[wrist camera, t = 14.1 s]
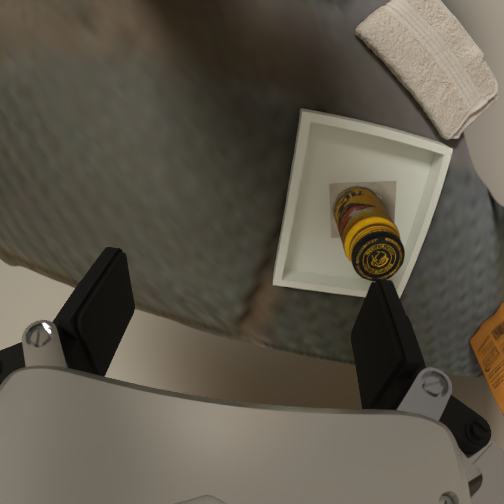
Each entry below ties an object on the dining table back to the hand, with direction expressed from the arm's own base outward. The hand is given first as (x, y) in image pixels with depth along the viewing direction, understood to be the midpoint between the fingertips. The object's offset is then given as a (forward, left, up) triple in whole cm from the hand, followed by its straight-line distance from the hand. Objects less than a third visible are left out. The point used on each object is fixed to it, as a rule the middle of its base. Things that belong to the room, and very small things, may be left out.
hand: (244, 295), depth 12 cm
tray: (+7, +12, -28) cm, 31 cm away
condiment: (+6, +12, -28) cm, 31 cm away
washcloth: (-14, +17, -29) cm, 37 cm away
